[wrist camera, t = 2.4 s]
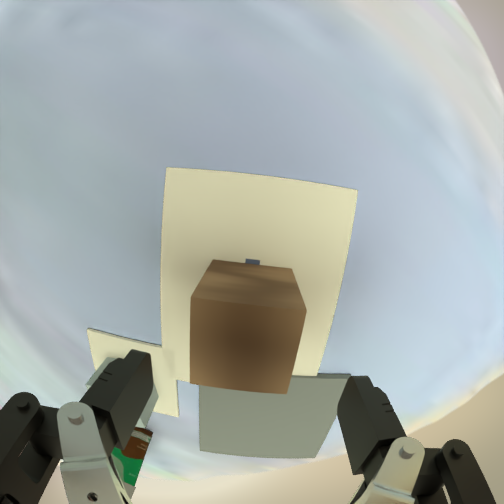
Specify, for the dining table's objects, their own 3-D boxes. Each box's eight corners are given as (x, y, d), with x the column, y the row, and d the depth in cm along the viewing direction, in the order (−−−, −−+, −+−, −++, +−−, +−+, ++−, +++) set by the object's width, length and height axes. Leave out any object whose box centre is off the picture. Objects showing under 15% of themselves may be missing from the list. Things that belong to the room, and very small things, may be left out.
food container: (105, 395, 21) (61, 465, 12) (158, 427, 22) (129, 504, 12) (86, 437, 24) (57, 489, 14) (127, 461, 25) (104, 516, 15)
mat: (200, 446, 23) (199, 450, 22) (201, 362, 20) (199, 367, 19) (314, 453, 23) (315, 457, 22) (350, 374, 20) (352, 378, 19)
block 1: (120, 391, 21) (103, 419, 17) (106, 357, 20) (85, 384, 16) (158, 396, 20) (145, 428, 17) (147, 361, 20) (129, 392, 16)
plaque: (103, 394, 21) (102, 396, 21) (88, 327, 19) (86, 329, 19) (179, 415, 21) (178, 417, 21) (175, 348, 19) (174, 350, 19)
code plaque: (165, 374, 20) (164, 377, 20) (168, 167, 16) (166, 167, 16) (310, 391, 20) (310, 394, 20) (356, 190, 16) (358, 190, 16)
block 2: (208, 327, 18) (189, 383, 13) (212, 259, 17) (190, 296, 11) (279, 336, 18) (286, 394, 13) (291, 268, 17) (307, 310, 11)
